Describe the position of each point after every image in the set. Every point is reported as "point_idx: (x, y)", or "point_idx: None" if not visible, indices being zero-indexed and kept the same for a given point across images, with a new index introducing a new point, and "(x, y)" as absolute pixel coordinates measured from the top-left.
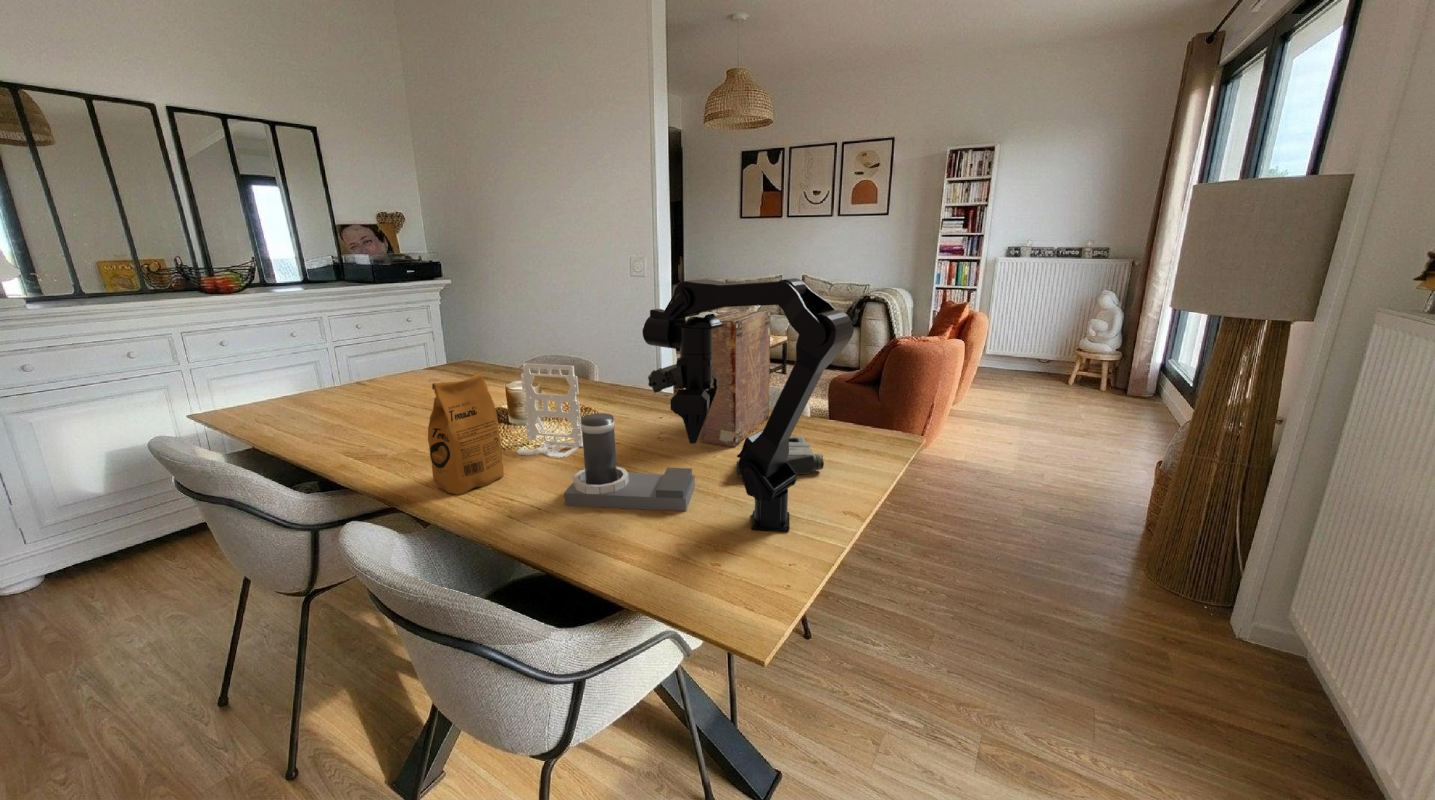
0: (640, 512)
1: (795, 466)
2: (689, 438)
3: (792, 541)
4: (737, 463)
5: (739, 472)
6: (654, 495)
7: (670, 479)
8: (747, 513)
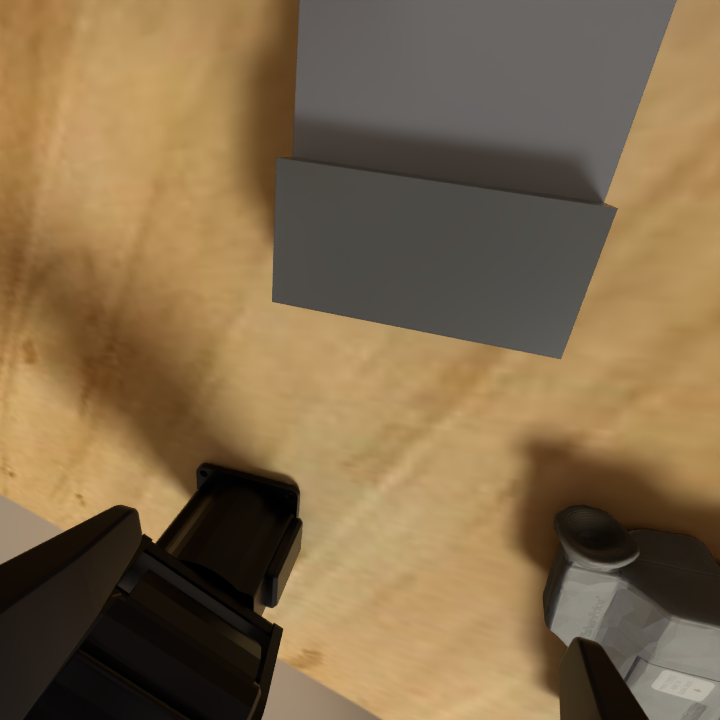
0: (288, 73)
1: None
2: (71, 535)
3: (168, 526)
4: (594, 555)
5: (556, 530)
6: (312, 145)
7: (413, 236)
8: (299, 470)
